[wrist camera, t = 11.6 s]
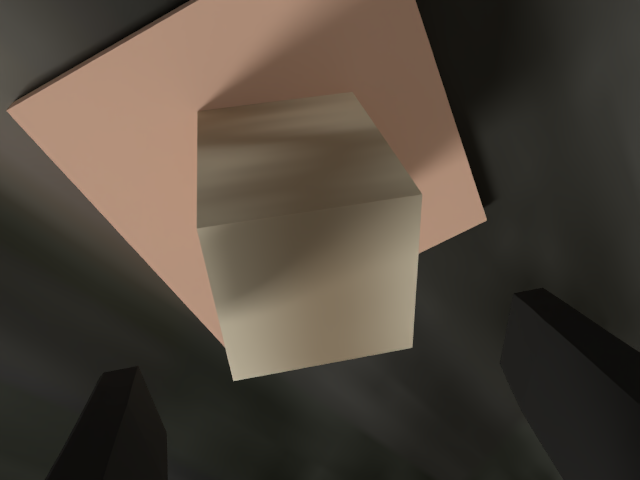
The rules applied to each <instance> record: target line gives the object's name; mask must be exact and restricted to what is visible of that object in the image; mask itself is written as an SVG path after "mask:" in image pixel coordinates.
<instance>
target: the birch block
mask: <svg viewBox="0 0 640 480" xmlns="http://www.w3.org/2000/svg"><path fill="white" fill-rule="evenodd" d="M421 207H422V193H421V192H420V190H419V189H418V187H417V186H416V184H415V183H414V181H413V180H412V178H411V177H410V175H409V174H408V172H407V171H406V170H405V168H404V167H403V165H402V164H401V162H400V161H399V159H398V158H397V156H396V155H395V153H394V152H393V150H392V149H391V148H390V146H389V145H388V143H387V142H386V140H385V139H384V137H383V136H382V134H381V133H380V131H379V130H378V128H377V127H376V126H375V124H374V123H373V121H372V120H371V118H370V117H369V115H368V114H367V112H366V111H365V109H364V108H363V106H362V105H361V104H360V102H359V101H358V99H357V98H356V96H355V95H354V93H353V92H346V93H338V94H330V95H322V96H314V97H306V98H298V99H290V100H282V101H275V102H267V103H259V104H251V105H243V106H235V107H227V108H219V109H211V110H203V111H197V232H198V236H199V240H200V245H201V249H202V253H203V257H204V261H205V265H206V270H207V274H208V278H209V282H210V286H211V290H212V294H213V299H214V303H215V307H216V311H217V315H218V319H219V324H220V328H221V332H222V336H223V340H224V344H225V348H226V353H227V357H228V361H229V365H230V369H231V373H232V377H233V381H236V380H242V379H247V378H252V377H258V376H263V375H268V374H274V373H279V372H285V371H290V370H295V369H301V368H306V367H311V366H317V365H322V364H327V363H333V362H338V361H343V360H349V359H354V358H360V357H365V356H370V355H376V354H381V353H386V352H392V351H397V350H402V349H408V348H412V343H413V328H414V313H415V298H416V283H417V268H418V253H419V237H420V222H421Z"/></svg>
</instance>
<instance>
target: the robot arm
mask: <svg viewBox="0 0 640 480" xmlns="http://www.w3.org/2000/svg"><path fill="white" fill-rule="evenodd" d="M500 365H501V367H502V369H503V372H504V374H505V376H506V379H507V381H508V383H509V385H510V388H511V390H512V392H513V394H514V396H515V398H516V400H517V403H518V405H519V407H520V409H521V411H522V413H523V414H524V416H525V418H526V419H527V421H528V423H529V424H530V426H531V428H532V429H533V431H534V433H535V434H536V436H537V438H538V439H539V441H540V443H541V444H542V446H543V447H544V449H545V451H546V452H547V454H548V456H549V457H550V459H551V460H552V462H553V464H554V465H555V467H556V469H557V470H558V472H559V473H560V475H561V477H562V478H563V480H640V352H638V351H637V350H635V349H634V348H632V347H630V346H629V345H627V344H626V343H624V342H623V341H621V340H620V339H618V338H617V337H615V336H614V335H612V334H611V333H609V332H608V331H606V330H605V329H603V328H602V327H600V326H599V325H598V324H596V323H595V322H593V321H592V320H590V319H589V318H587V317H586V316H584V315H583V314H581V313H580V312H578V311H577V310H575V309H574V308H572V307H571V306H569V305H568V304H567V303H565V302H564V301H562V300H561V299H559V298H558V297H556V296H555V295H553V294H551V293H550V292H548V291H547V290H545V289H544V288H539V289H534V290H529V291H524V292H519V293H514V294H513V298H512V303H511V309H510V314H509V319H508V324H507V329H506V334H505V339H504V345H503V350H502V355H501V360H500ZM45 480H168V474H167V433H166V430H165V428H164V426H163V423H162V421H161V419H160V416H159V414H158V411H157V409H156V407H155V404H154V402H153V400H152V397H151V395H150V393H149V390H148V388H147V386H146V383H145V381H144V379H143V376H142V374H141V371H140V369H139V367H138V366H136V367H131V368H126V369H120V370H115V371H110V372H105V373H103V374H102V376H101V377H100V378H99V380H98V382H97V384H96V386H95V388H94V390H93V392H92V394H91V396H90V398H89V400H88V402H87V404H86V405H85V407H84V409H83V411H82V413H81V415H80V417H79V419H78V421H77V423H76V425H75V427H74V428H73V430H72V432H71V434H70V436H69V438H68V440H67V441H66V443H65V445H64V447H63V449H62V451H61V452H60V454H59V456H58V458H57V459H56V461H55V463H54V465H53V466H52V468H51V470H50V472H49V473H48V475H47V477H46V479H45Z"/></svg>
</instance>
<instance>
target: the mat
mask: <svg viewBox="0 0 640 480" xmlns="http://www.w3.org/2000/svg"><path fill="white" fill-rule="evenodd" d="M346 92H353V93H354V95H355V96H356V98H357V99H358V101H359V102H360V104H361V105H362V106H363V108H364V109H365V111H366V112H367V114H368V115H369V117H370V118H371V120H372V121H373V123H374V124H375V126H376V127H377V128H378V130H379V131H380V133H381V134H382V136H383V137H384V139H385V140H386V142H387V143H388V145H389V146H390V148H391V149H392V150H393V152H394V153H395V155H396V156H397V158H398V159H399V161H400V162H401V164H402V165H403V167H404V168H405V170H406V171H407V172H408V174H409V175H410V177H411V178H412V180H413V181H414V183H415V184H416V186H417V187H418V189H419V190H420V192H421V193H422V207H421V222H420V237H419V253H421V252H423V251H425V250H427V249H429V248H431V247H433V246H435V245H437V244H439V243H441V242H443V241H445V240H447V239H449V238H452V237H454V236H456V235H458V234H460V233H462V232H464V231H466V230H468V229H470V228H472V227H474V226H476V225H478V224H480V223H482V222H484V221H487V219H486V216H485V213H484V209H483V206H482V203H481V200H480V197H479V194H478V191H477V188H476V185H475V182H474V179H473V176H472V173H471V170H470V166H469V163H468V160H467V157H466V154H465V151H464V148H463V145H462V142H461V139H460V136H459V133H458V130H457V126H456V123H455V120H454V117H453V114H452V111H451V108H450V105H449V102H448V99H447V96H446V93H445V90H444V86H443V83H442V80H441V77H440V74H439V71H438V68H437V65H436V62H435V59H434V56H433V53H432V50H431V46H430V43H429V40H428V37H427V34H426V31H425V28H424V25H423V22H422V19H421V16H420V13H419V10H418V6H417V3H416V0H190V1H188V2H186V3H185V4H183V5H181V6H179V7H178V8H176V9H174V10H172V11H171V12H169V13H167V14H165V15H164V16H162V17H160V18H158V19H157V20H155V21H153V22H152V23H150V24H148V25H146V26H145V27H143V28H141V29H139V30H138V31H136V32H134V33H132V34H131V35H129V36H127V37H126V38H124V39H122V40H120V41H119V42H117V43H115V44H113V45H112V46H110V47H108V48H106V49H105V50H103V51H101V52H99V53H98V54H96V55H94V56H93V57H91V58H89V59H87V60H86V61H84V62H82V63H80V64H79V65H77V66H75V67H73V68H72V69H70V70H68V71H67V72H65V73H63V74H61V75H60V76H58V77H56V78H54V79H53V80H51V81H49V82H47V83H46V84H44V85H42V86H40V87H39V88H37V89H35V90H34V91H32V92H30V93H28V94H27V95H25V96H23V97H21V98H20V99H18V100H16V101H14V102H13V103H12V104H11V105H10V107H9V108H8V109H7V110H6V111H7V112H8V113H9V114H10V115H11V116H12V117H13V118H14V120H15V121H16V122H17V123H18V124H19V125H20V126H21V127H22V128H23V129H24V130H25V131H26V132H27V134H28V135H29V136H30V137H31V138H32V139H33V140H34V141H35V142H36V143H37V144H38V145H39V147H40V148H41V149H42V150H43V151H44V152H45V153H46V154H47V155H48V156H49V157H50V158H51V160H52V161H53V162H54V163H55V164H56V165H57V166H58V167H59V168H60V169H61V170H62V171H63V172H64V174H65V175H66V176H67V177H68V178H69V179H70V180H71V181H72V182H73V183H74V184H75V185H76V187H77V188H78V189H79V190H80V191H81V192H82V193H83V194H84V195H85V196H86V197H87V198H88V200H89V201H90V202H91V203H92V204H93V205H94V206H95V207H96V208H97V209H98V210H99V211H100V213H101V214H102V215H103V216H104V217H105V218H106V219H107V220H108V221H109V222H110V223H111V224H112V225H113V227H114V228H115V229H116V230H117V231H118V232H119V233H120V234H121V235H122V236H123V237H124V238H125V240H126V241H127V242H128V243H129V244H130V245H131V246H132V247H133V248H134V249H135V250H136V251H137V253H138V254H139V255H140V256H141V257H142V258H143V259H144V260H145V261H146V262H147V263H148V264H149V265H150V267H151V268H152V269H153V270H154V271H155V272H156V273H157V274H158V275H159V276H160V277H161V278H162V280H163V281H164V282H165V283H166V284H167V285H168V286H169V287H170V288H171V289H172V290H173V291H174V293H175V294H176V295H177V296H178V297H179V298H180V299H181V300H182V301H183V302H184V303H185V304H186V306H187V307H188V308H189V309H190V310H191V311H192V312H193V313H194V314H195V315H196V316H197V317H198V318H199V320H200V321H201V322H202V323H203V324H204V325H205V326H206V327H207V328H208V329H209V330H210V331H211V333H212V334H213V335H214V336H215V337H216V338H217V339H218V340H219V341H220V342H221V343H222V344H223V346H224V347H225V344H224V340H223V336H222V332H221V328H220V324H219V319H218V315H217V311H216V307H215V303H214V299H213V294H212V290H211V286H210V282H209V278H208V274H207V270H206V265H205V261H204V257H203V253H202V249H201V245H200V240H199V236H198V232H197V111H203V110H211V109H219V108H227V107H235V106H243V105H251V104H259V103H267V102H275V101H282V100H290V99H298V98H306V97H314V96H322V95H330V94H338V93H346ZM419 253H418V254H419Z"/></svg>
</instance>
